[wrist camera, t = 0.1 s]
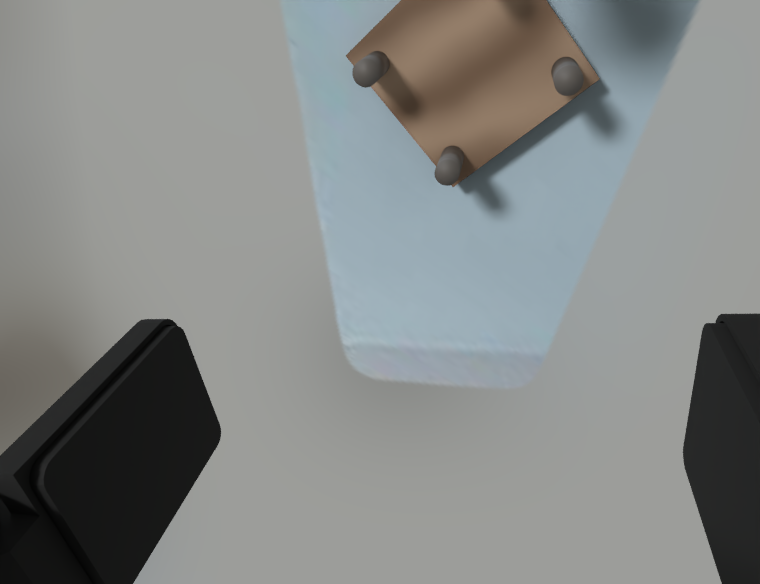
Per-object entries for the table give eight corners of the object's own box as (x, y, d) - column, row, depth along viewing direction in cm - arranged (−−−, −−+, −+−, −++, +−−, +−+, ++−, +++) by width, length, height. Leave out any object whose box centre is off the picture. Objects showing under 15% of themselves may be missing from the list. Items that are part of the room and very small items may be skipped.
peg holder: (350, 52, 43) (330, 64, 39) (488, -85, 37) (484, -90, 32) (454, 180, 47) (447, 205, 42) (597, 75, 40) (607, 90, 36)
